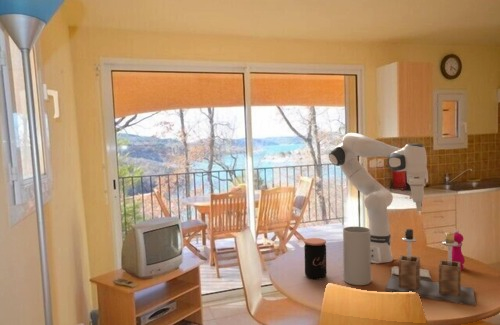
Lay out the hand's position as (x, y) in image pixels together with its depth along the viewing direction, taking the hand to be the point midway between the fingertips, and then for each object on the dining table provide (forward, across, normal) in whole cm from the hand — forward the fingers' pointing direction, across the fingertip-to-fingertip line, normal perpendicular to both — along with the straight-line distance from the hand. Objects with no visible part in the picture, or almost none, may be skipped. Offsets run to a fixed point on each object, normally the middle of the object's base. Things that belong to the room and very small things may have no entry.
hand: (419, 208), depth 167 cm
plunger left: (+24, +6, -6) cm, 25 cm away
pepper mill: (+37, -30, +14) cm, 50 cm away
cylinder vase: (+34, +6, -29) cm, 45 cm away
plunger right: (+25, +6, +10) cm, 27 cm away
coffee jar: (+32, +8, -49) cm, 60 cm away
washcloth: (+36, -11, -7) cm, 38 cm away
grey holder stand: (+36, +6, +2) cm, 36 cm away
